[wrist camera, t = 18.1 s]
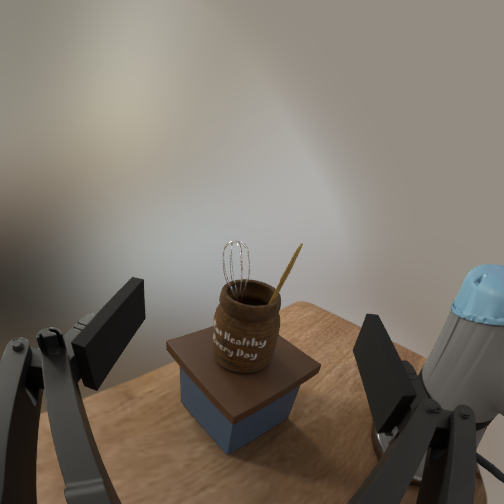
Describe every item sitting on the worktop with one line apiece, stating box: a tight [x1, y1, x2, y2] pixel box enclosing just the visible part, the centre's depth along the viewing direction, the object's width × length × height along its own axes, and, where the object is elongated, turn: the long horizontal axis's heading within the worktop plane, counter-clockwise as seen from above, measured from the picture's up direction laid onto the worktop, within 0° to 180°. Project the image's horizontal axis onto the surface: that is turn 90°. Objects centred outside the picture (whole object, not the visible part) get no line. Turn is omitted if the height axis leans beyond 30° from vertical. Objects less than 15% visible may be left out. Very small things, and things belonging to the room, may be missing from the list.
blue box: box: [166, 326, 321, 455], centre depth 29 cm, size 11×11×9 cm
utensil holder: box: [212, 241, 303, 373], centre depth 25 cm, size 6×6×12 cm
